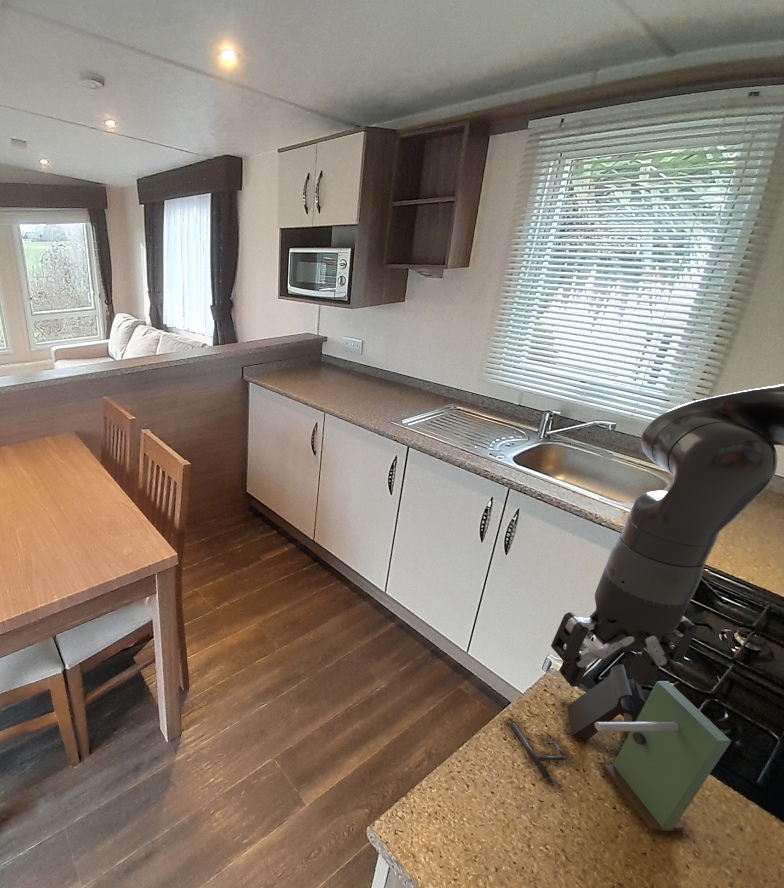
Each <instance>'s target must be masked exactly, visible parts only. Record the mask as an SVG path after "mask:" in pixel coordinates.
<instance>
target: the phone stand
mask: <svg viewBox="0 0 784 888" xmlns="http://www.w3.org/2000/svg"><path fill="white" fill-rule="evenodd" d="M646 701H647V700H646V697H645V694H644V690H643V687H642V686H640V685H639V684H638V683H637V682H636V681H635V680H634V679H633V678H631V679H628V675H627V673H626V669H625V665H624V664H615V665H614V666H612V667H611V669H610V672H609V675H608V676H607V677H606V678H604V679H603V680H601V681H600V682H598V684H596V685H595V686H593V687H591V688H590V689H589V690H587V691H586V692H584V693H583V694H582V695H580V696H579V697H577V698H576V699H575V700H573V701H572V702H570V703H569V704H567V711H568V718H569V719H568V720H569V728H570V734H571V737H573V738H575V739H578V740H581V741H584V742H588V740H590V739H591V738H592V737H593V736H595V735H596V734H597V733H599V731H598V730H597V729H596V728H595V722H612V721H613V720H614V719H616V718H617V716H619V715H621V714H623V722H636V720H637V718H638V716H639V714H640V712H641V711H642V709H643V707H644V705H645V703H646ZM629 733H630V731H624V734H625V740H626V739H627V737H628V735H629Z"/></svg>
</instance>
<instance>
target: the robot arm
mask: <svg viewBox="0 0 784 888" xmlns="http://www.w3.org/2000/svg"><path fill="white" fill-rule="evenodd" d="M640 446H641V449H642V451H643V453H644V454H645V455H646V456H647V458H648V459H649V460H650V461H652V462H653V463H654V464H656V465H657V466H658V467H660V468H661V469H662V470H664V471H666V473H668V474H670V475H671V476H673V481H672V484H671V486H670V488H668V490H651V491H647V492H644V493H642V494H640V495H639V496H638V497H637V498H636V499H635V500H634V502H633V504H632V506H631V508H630V509H629V513H628V515H627V518H626V521H625V523H624V526H623V528H622V530H621V533H620V536H619V538H618V539H617V541H616V542H615V544H614V545H613V547H612V549H611V551H610V553H609V556H608V558H607V561H606V563H605V567H604V568H603V570H602V574H601V576H600V579H599V582H598V585H597V587H596V590H595V593H594V601H595V610H594V611H593V612H592V613H591V614H590V615H589V617H578V616H577V615H576V614H575V613H574V612H571V611H569V612H567V613H565V614H564V615H563V617H562V618H561V622H560V624H559V626H558V628H557V631H556V633H555V636H554V637H553V640H552V642H551V644H550V647H551V649H552V650H553V651H554V652H555V653H556V655H557V656H558V657H559V658H560V659H561V661H562V663H561V667H560V669H559V673H560V675H561V676H562V677H563V679H564V680H565V681H566V682H567V683H568V684H569V686H570V687H572V688H574V687H575V688H576V687H577V688H578V687H580V685H581V684H582V683H581V682H582V681H583V678H584V677H585V674H586V671H587V669H588V665H590V664H591V663H593V662H594V661H596V660H597V659H599V660H605V659H607V658H608V657H610V656H611V655H613V654H614V653H621V652H625V651H626V652H633V653H635V652H636V653H635V655H634V658H633V660H632V662H631V663H630V667H629V669H628V672H627V673H628V675H629V676H630V677H631V679H634V680H635V681H636V682H637V683H638V684H639V685H640V686H641V687H646V686H647V687H648V686H649V685H650V683H651V681H653V680H654V678H655V676H656V674H657V672H658V670H659V668H660V667H663V666H666V664H667V663H668V661H670V660H672V661H673V662H674V663H680V662H682V661H683V660H684V659H685V657H686V655H687V653H688V650H689V648H690V646H691V644H692V641H693V639H694V637H695V634H696V632H697V629H698V626H697V625H696V624H695V623H693V622H692V621H691V620H690V619H688V617H686V616H684V615H685V613H686V611H687V609H688V608H689V605H690V603H691V601H692V599H693V597H694V595H695V593H696V591H697V590H698V587H699V584H700V583H701V580H702V577H703V574H704V568H705V565H706V562H707V561H708V559H709V557H710V554H711V553H712V550H713V548H714V547H715V545H716V542H717V540H718V538H719V536H720V533H721V532H722V531H723V529H725V528H726V527H727V526H728V525H729V524H730V523H732V522H733V521H734V520H735V519H736V518H737V517H738V516H739V515H741V513H742V512H743V511H744V510H746V509H747V508H748V507H749V505H751V504H752V503H753V502H754V501H755V500H756V499H757V498H758V497H759V496H760V495H761V494H762V493H763V492H764V491H765V490H766V489H767V488H768V487H769V486H770V484H771V482H772V481H773V479H774V477H775V476H776V472H777V468H778V452H777V449H776V446H782V447H784V383H781V384H778V385H773V386H766V387H760V388H753V389H748V390H743V391H737V392H732V393H728V394H723V395H722V394H721V395H717V396H713V397H707V398H702V399H699V400H695V401H691V402H687V403H684V404H681V405H677V406H676V407H673V408H671V409H669V410H667V411H665V412H663V413H662V414H660V415H658V416H657V417H656V418H654V419H653V420H652V421H651V422H650V423H649V424H648V425H647V426H646V427H645V429H644V430H643V432H642V434H641V437H640ZM593 636H595V638H596V640H597V641H599V643H600V644H601V645H602V646H600V647H598V646H597V645H596V644H595V643H594V642H593V641H592V637H593ZM671 643H673V645H671ZM584 647H586V648H587V651H586V652H585V653H583V654H582V653H580V652H579V651H580V650H581V649H583V648H584Z"/></svg>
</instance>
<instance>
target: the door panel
mask: <svg viewBox="0 0 784 888" xmlns="http://www.w3.org/2000/svg"><path fill="white" fill-rule="evenodd" d="M645 701H646V703H645V705H644V707H643V709H642V711H641V712H640V714H639V716H638V718H637V720H636V722H624V721H610V722H595V728H596V729H597V730H598V732H625V731H630V733H629V735H628V737H627V739H626V738H625V741H624V742H623V744H622V746H621V748H620V751H619V752H618V755H617V756H616V758H615V760H614V761H613V764H603V766H602V769H603V770H604V771H605V773H606V774H607V775H608V776H609V778H610V779H611V780H612V782H613V783H614V784H615V786H616V787H617V788H618V790H619V792H621V793H622V795H623V797H624V798H625V799H626V800H627V802H629V804H630V805H631V807H632V808H633V809H634V811H635V812H636V814H637V815H638V816H639V818H640V819H641V820H642V821H643V822H644V824H645V825H646V826H647V828H648V829H649V830H650V831H651V832H665V831H666V832H682V831H683V830H684V826H683V825H682V823H680V820H681V818H682V817H683V815H684V814H685V812H686V811H687V809H688V808H689V807H690V805H691V803H692V801H693V800H694V798H695V797H696V795H697V794H698V792H699V791H700V790H701V788H702V786H703V785H704V783H705V781H707V779H708V777H709V776H710V775H711V773H712V771H713V770H714V768H715V767H716V766H717V764H718V762H719V761H720V759H721V758H722V757H723V755H724V753H725V752H726V751H727V749H728V747H729V746H730V744H731V743H732V740H731V739H730V737H728V736H727V735H725V733H724V732H723V731H722V730H720V728H718V727H717V726H716V725H715V724H714V723H713V722H712V721H711V720H710V719H709V718H708V717H707V716H706V715H705V714H704V713H703V712H701V710H699V709H698V708H697V707H696V706H695V705H694V704H693V703H692V702H691V701H690V700H689V699H688V698H687V697H686V696H684V694H683V693H681V692H680V690H679V689H677V688H676V687H675V686H674V685H673V684H672V683H671V682H670V681H669V680H658V681H655V684H654V686H653V688H652V690H651V691H650V693H649V695H648V697H647V699H646V700H645Z"/></svg>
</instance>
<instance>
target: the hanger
mask: <svg viewBox="0 0 784 888" xmlns="http://www.w3.org/2000/svg"><path fill="white" fill-rule="evenodd" d="M509 726H510V727H511V729H512V730H513V731H514V733H515V735H516V736H517V737H518V739H519V741H520V742H521V744H522V746H523V747H524V748H525V751H527V753H528V754H529V756H530V758H531V759H532V760H533V762H534V763H535V766H536V767H537V768H538V770H539V771H540V773H541V774H542V776H543V778H544V779H545V781H547V782H548V783H552V782H553V778H552V777H551V775H550V773H548V771H547V769H546V768H545V767H544V764H543V763H542V762H541V761H559V760H567V757H566V755H565V754H564V753H563V751H562V750H561V749H560V747H559V746H558V744H557V743H556V742H555V741H546V742H545V744H547V745H554V747H555V748H556V749H557V750H558V753H560V755H537V754H536V753H535V751H534V750H533V749H532V747H531V746H530V744H529V743H528V741H527V740H526V738H525V736H524V735H523V733H522V732H521V730H520V729H519V727H518V726H517V725H516V723H514V722H510V723H509Z"/></svg>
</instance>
